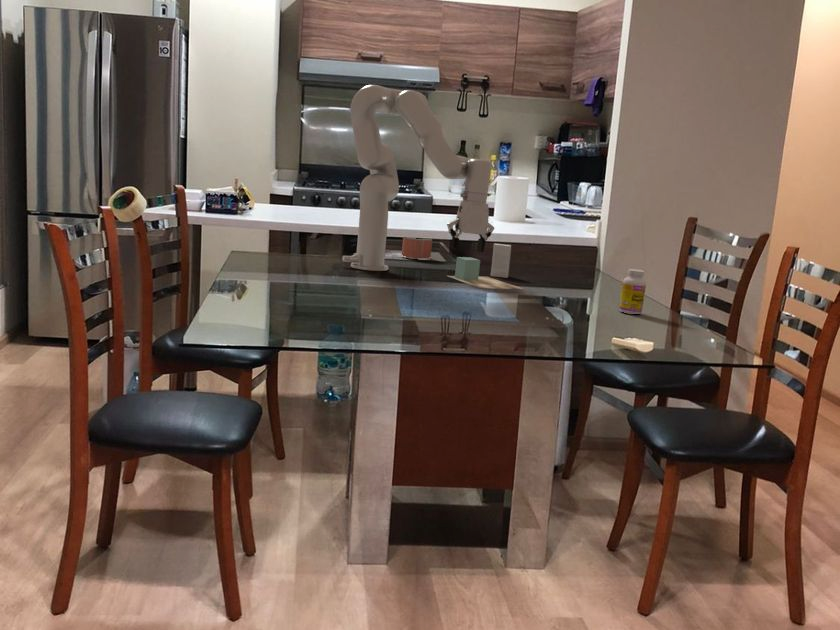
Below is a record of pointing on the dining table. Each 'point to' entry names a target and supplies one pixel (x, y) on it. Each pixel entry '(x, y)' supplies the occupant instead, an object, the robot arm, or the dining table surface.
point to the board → (488, 283)
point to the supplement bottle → (633, 292)
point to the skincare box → (500, 260)
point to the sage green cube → (467, 268)
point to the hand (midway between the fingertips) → (467, 250)
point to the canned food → (416, 247)
